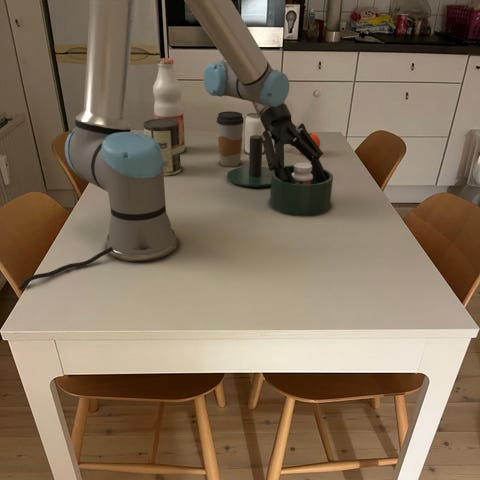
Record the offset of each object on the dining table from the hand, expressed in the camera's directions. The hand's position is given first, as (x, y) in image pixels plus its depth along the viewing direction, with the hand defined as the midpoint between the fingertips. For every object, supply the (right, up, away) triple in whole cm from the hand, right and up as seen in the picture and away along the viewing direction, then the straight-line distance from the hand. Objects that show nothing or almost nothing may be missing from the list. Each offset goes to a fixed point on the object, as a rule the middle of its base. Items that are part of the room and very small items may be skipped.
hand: (309, 187), depth 131 cm
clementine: (+5, +22, +42) cm, 47 cm away
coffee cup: (-21, +16, +33) cm, 42 cm away
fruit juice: (-41, +24, +43) cm, 64 cm away
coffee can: (-41, +12, +26) cm, 50 cm away
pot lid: (-13, +8, +20) cm, 26 cm away
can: (-13, +23, +43) cm, 51 cm away
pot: (-2, -3, +5) cm, 6 cm away
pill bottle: (-2, -3, +5) cm, 6 cm away
